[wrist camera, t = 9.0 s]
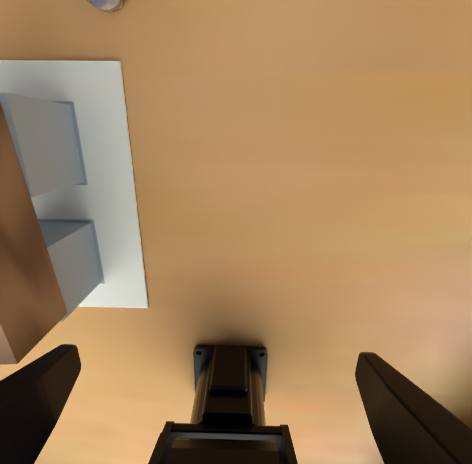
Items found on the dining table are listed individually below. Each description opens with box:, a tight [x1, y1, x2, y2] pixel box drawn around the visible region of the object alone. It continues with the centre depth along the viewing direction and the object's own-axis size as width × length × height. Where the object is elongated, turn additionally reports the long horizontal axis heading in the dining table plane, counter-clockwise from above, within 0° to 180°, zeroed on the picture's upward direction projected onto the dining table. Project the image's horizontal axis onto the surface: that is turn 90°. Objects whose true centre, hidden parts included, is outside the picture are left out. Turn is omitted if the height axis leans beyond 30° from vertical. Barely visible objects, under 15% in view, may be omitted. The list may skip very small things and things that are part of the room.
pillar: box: [39, 222, 101, 322], centre depth 19 cm, size 5×5×5 cm
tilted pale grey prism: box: [0, 93, 84, 197], centre depth 16 cm, size 5×5×5 cm
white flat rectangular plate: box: [0, 60, 149, 308], centre depth 20 cm, size 18×12×1 cm, turn 179°
